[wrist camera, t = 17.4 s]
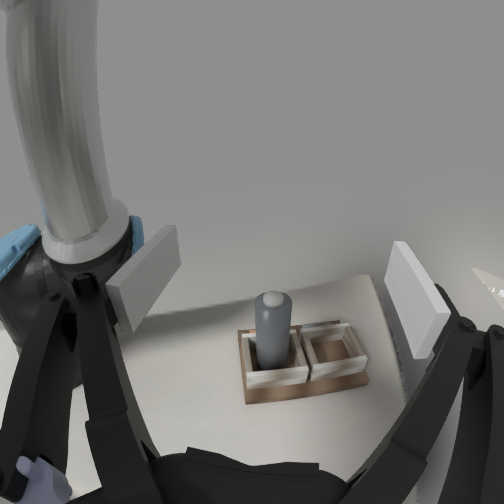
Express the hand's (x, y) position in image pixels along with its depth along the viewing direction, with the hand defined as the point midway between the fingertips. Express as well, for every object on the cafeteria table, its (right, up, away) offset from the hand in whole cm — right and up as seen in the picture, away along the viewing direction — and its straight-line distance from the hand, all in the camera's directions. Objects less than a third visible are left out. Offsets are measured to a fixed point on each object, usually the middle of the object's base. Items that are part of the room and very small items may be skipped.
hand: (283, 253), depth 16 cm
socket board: (+6, -17, +24) cm, 30 cm away
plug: (+1, -16, +22) cm, 28 cm away
